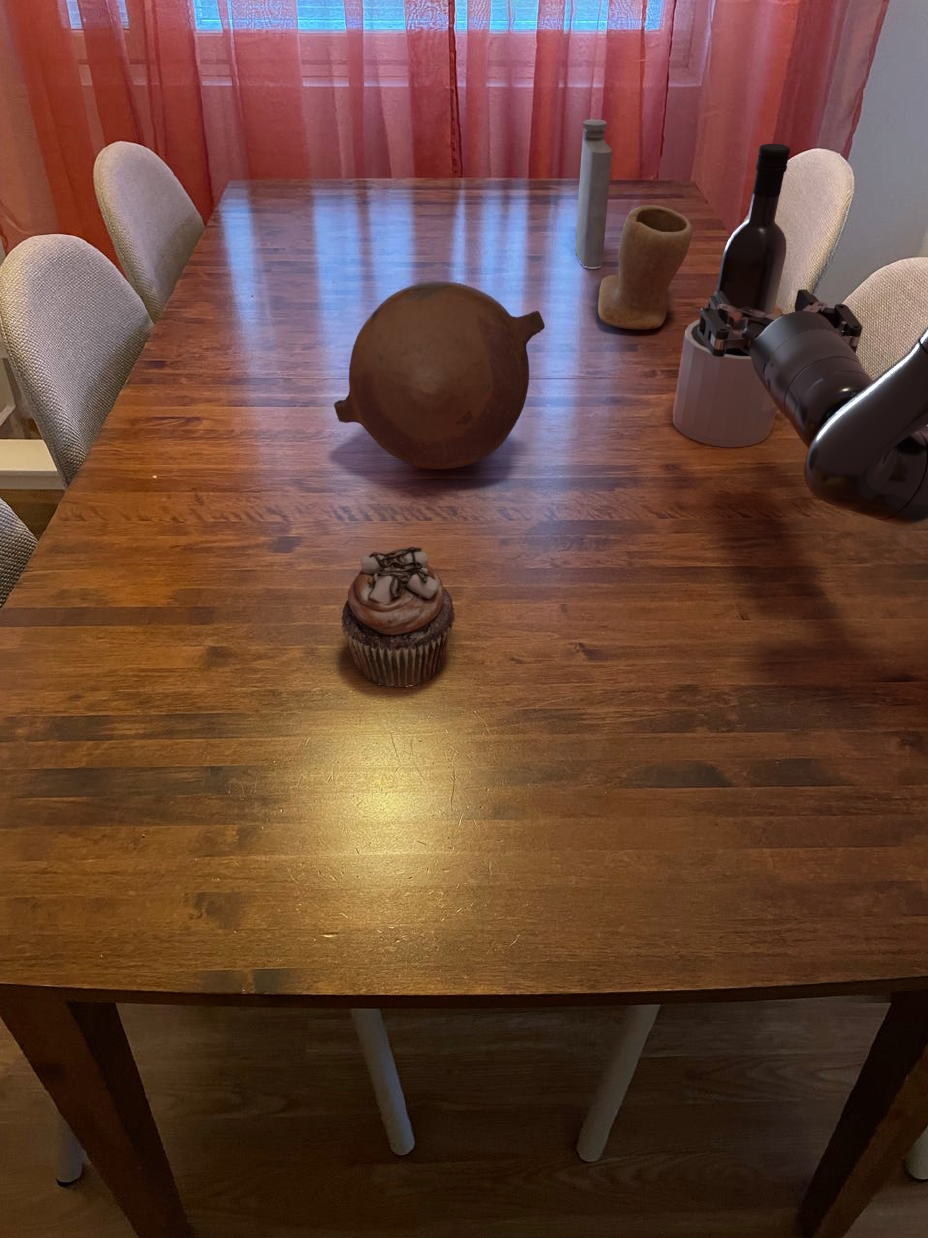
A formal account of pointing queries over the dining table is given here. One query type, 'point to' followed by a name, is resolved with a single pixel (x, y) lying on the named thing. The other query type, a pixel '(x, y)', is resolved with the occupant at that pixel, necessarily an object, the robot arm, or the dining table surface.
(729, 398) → the cup
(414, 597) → the cupcake
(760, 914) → the dining table surface
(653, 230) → the brown boot vase
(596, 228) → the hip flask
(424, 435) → the jug
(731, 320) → the wine bottle
